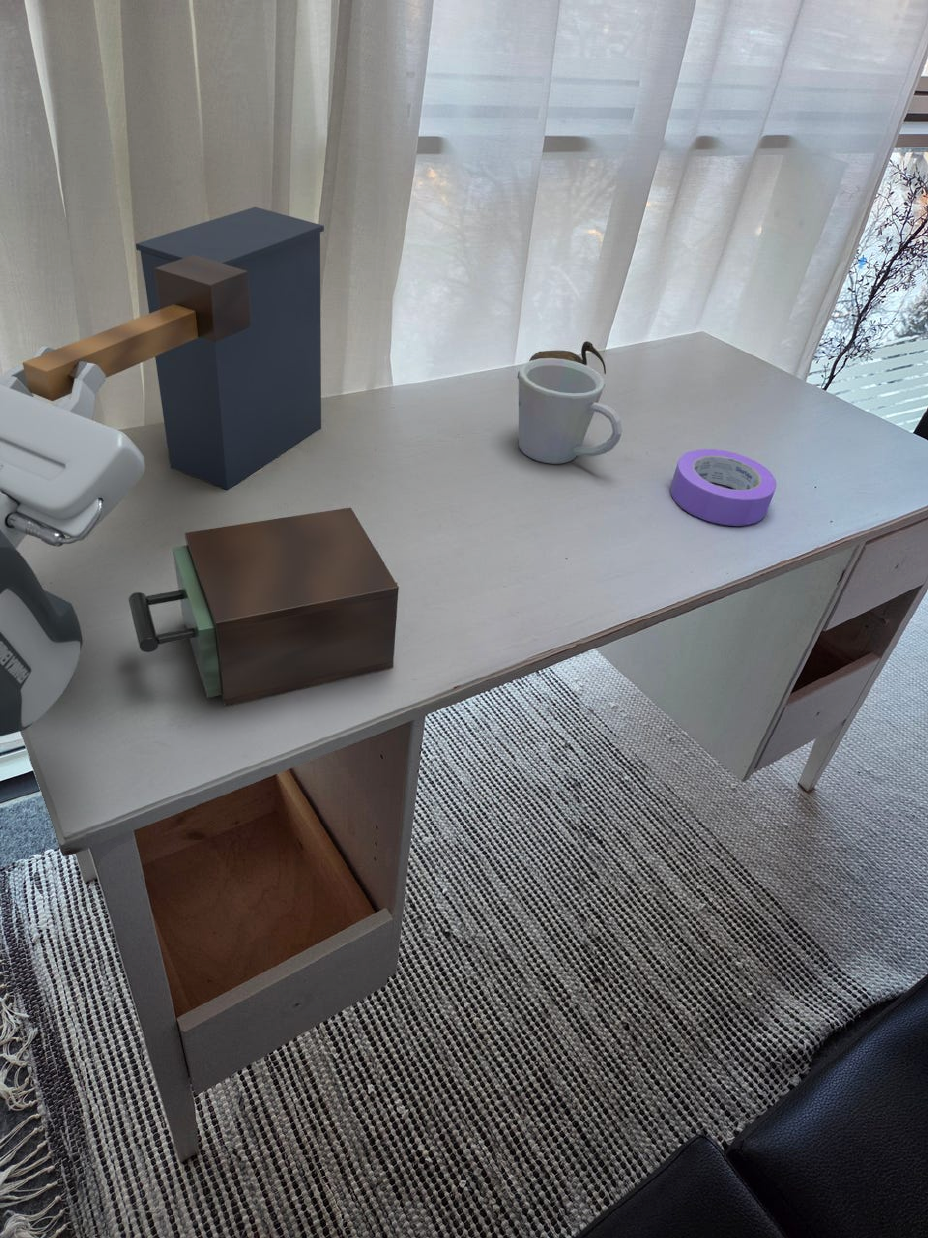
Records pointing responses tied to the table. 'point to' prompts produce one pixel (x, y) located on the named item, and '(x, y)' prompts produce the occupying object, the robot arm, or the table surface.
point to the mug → (560, 410)
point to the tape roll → (718, 502)
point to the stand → (244, 348)
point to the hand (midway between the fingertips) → (75, 360)
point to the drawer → (194, 618)
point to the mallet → (155, 325)
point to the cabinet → (295, 602)
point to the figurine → (570, 355)
